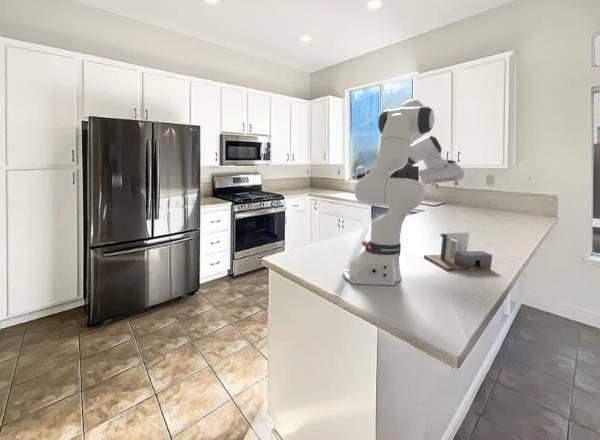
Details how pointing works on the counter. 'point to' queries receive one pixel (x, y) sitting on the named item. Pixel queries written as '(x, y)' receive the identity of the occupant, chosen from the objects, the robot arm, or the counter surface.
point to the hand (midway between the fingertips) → (447, 186)
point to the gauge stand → (461, 258)
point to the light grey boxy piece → (459, 239)
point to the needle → (443, 246)
